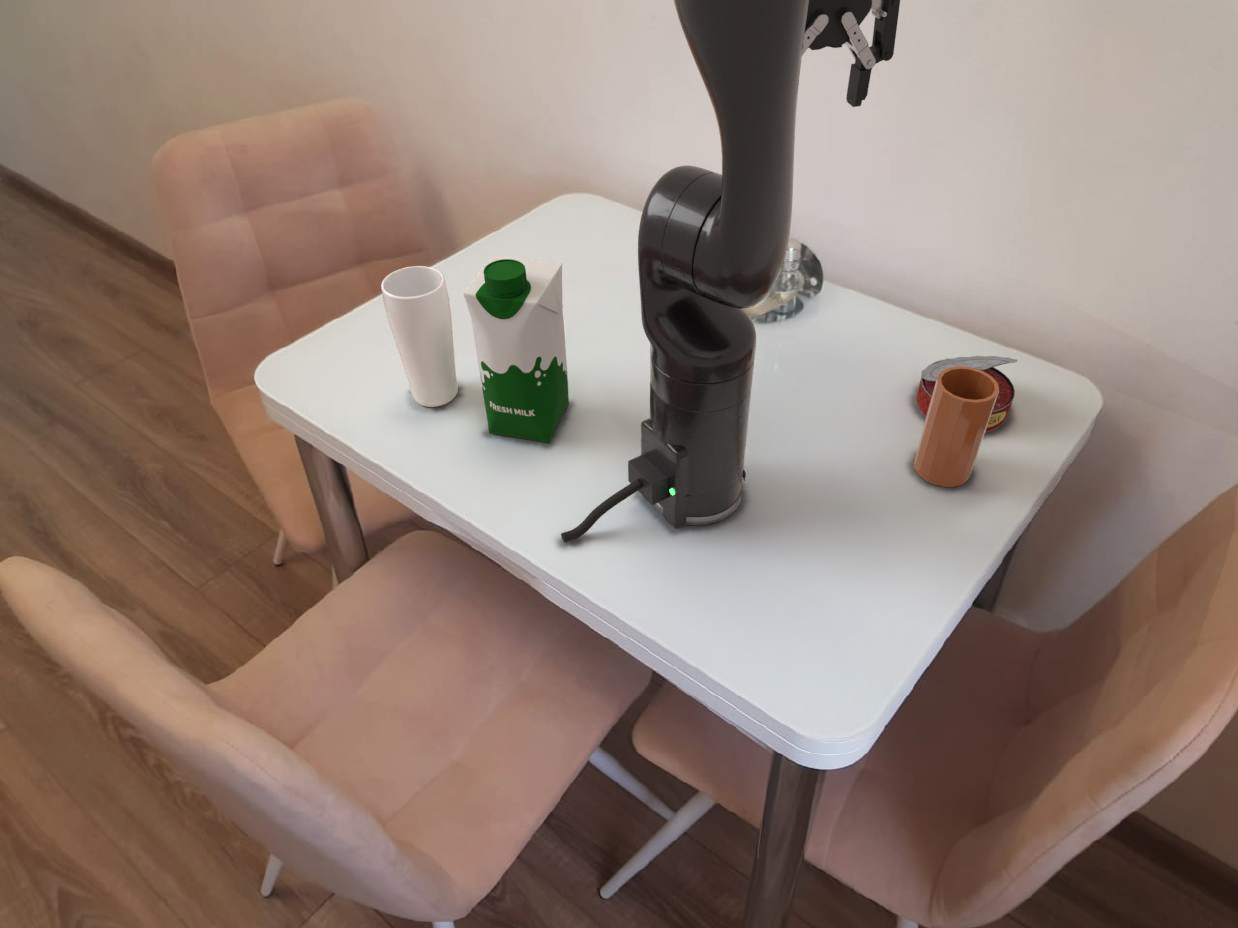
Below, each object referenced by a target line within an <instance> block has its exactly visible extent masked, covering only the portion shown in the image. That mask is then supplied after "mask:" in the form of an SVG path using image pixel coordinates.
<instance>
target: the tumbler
mask: <svg viewBox="0 0 1238 928" xmlns="http://www.w3.org/2000/svg"><path fill="white" fill-rule="evenodd" d="M998 393H999V386H998V383H997V382H996V381H995V379H994V378H993V377H992V376H990V375H989V374H987V373H985V372H984V371H981V370H978V369H975V368H971V367H963V366H958V367H950V368H947V369H945V370H943V371H941V372H940V374H939V375H938V377H937V380H936V384H935V387H934V391H933V394H932V398H931V402H930V405H929V409H928V412H927V416H926V417H925V419H924V424H923V428H922V431H921V434H920V438H919V441H918V445H917V448H916V453H915V456H914V461H913V467H914V471H915V472H916V473H917V475H918V476H919V477H920V478H921V479H922V480H923V481H925V482H926V483H929V484H931V485H934V486H937V487H941V488H955V487H959V486H961V485H964V484H965V483H966V482H967V481H969V479H970V477H971V474H972V472H973V469H974V466H975V464H976V461H977V457H978V454H979V452H980V449H981V446H982V443H983V440H984V437H985V434H986V433H985V431H986V428H987V425H988V422H989V420H990V417H991V414H992V411H993V408H994V405H995V402H996V399H997V396H998Z"/></svg>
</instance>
